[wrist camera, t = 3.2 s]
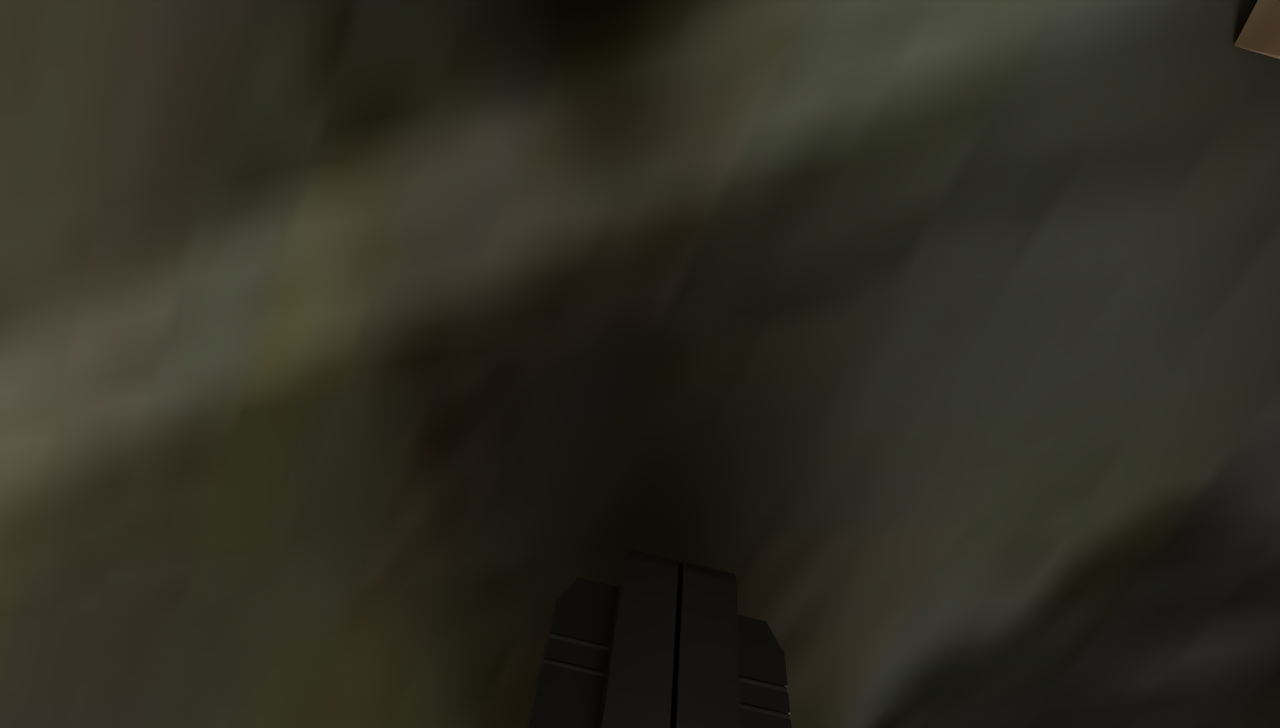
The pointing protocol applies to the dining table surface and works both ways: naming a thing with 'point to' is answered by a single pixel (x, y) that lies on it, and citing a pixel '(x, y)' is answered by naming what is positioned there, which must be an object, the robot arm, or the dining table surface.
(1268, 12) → the bay
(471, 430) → the dining table surface
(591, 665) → the robot arm
